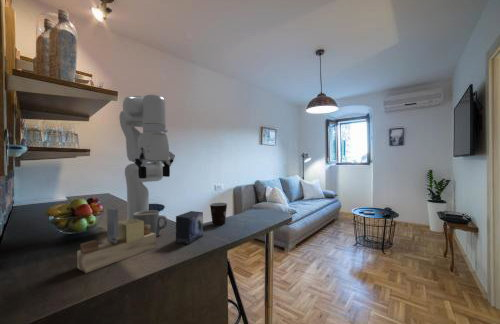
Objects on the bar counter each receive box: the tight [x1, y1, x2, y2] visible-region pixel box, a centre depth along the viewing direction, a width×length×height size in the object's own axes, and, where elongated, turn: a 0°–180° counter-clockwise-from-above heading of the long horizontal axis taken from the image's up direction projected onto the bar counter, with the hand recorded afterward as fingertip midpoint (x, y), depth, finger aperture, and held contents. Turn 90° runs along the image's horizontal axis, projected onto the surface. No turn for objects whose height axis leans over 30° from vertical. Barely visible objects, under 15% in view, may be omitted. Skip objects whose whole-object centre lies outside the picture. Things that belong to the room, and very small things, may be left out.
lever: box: [106, 207, 119, 244], centre depth 70 cm, size 5×1×11 cm, turn 58°
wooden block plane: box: [76, 225, 157, 274], centre depth 72 cm, size 6×22×8 cm, turn 148°
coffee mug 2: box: [209, 202, 228, 226], centre depth 108 cm, size 12×9×10 cm
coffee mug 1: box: [133, 209, 169, 237], centre depth 93 cm, size 13×10×10 cm
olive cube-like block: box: [116, 218, 144, 243], centre depth 74 cm, size 7×6×6 cm
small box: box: [175, 210, 204, 245], centre depth 87 cm, size 11×6×10 cm, turn 161°
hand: (155, 177), depth 78 cm, fingers open, 9 cm apart
